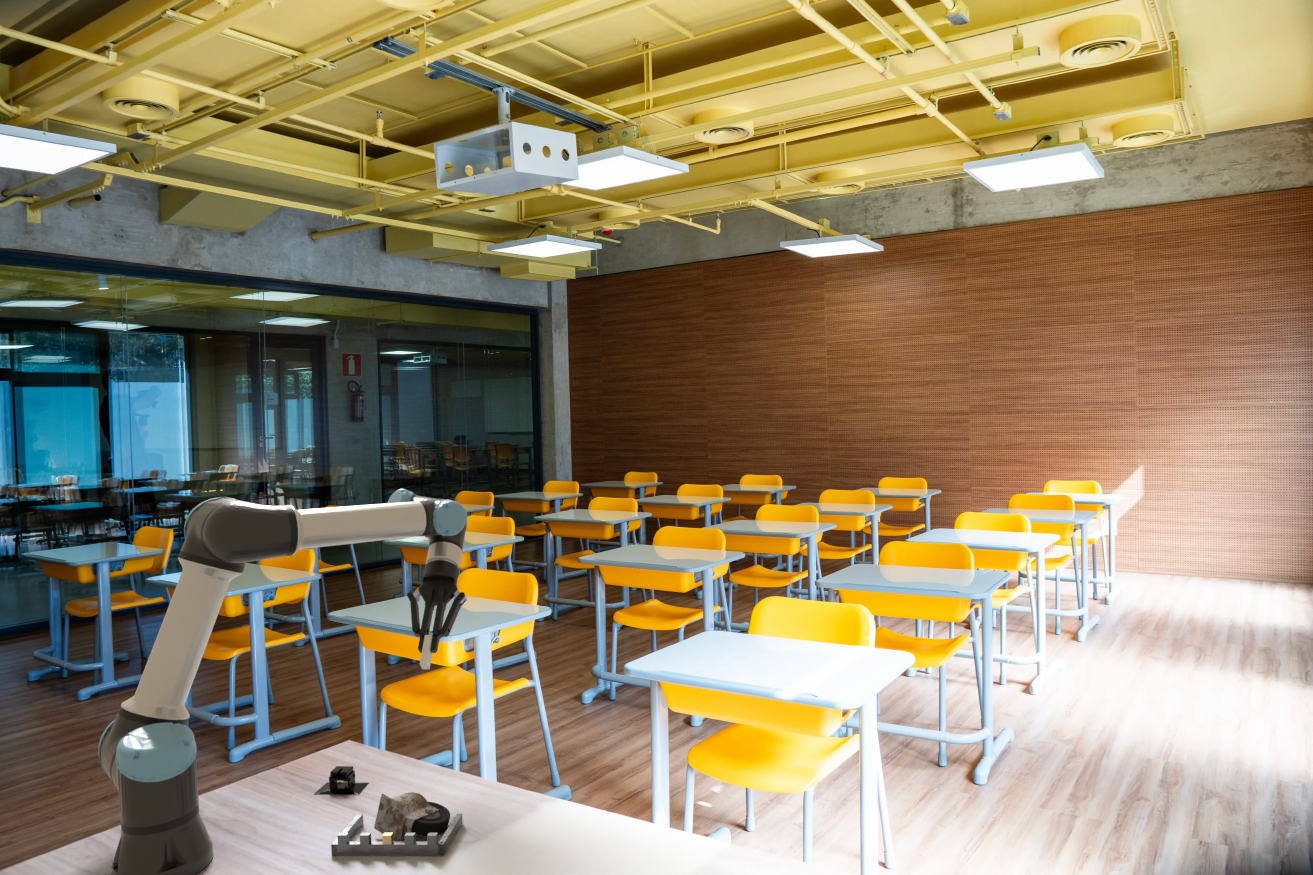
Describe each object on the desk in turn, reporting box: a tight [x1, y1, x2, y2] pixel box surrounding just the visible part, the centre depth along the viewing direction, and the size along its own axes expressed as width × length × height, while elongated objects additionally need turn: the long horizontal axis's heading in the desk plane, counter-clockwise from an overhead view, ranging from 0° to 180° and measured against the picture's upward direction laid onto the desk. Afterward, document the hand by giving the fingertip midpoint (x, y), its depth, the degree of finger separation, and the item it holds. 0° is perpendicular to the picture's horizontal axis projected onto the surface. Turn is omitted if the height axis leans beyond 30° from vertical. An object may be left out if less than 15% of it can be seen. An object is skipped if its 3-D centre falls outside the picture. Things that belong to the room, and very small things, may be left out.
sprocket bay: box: [330, 813, 464, 857], centre depth 153 cm, size 20×11×4 cm, turn 86°
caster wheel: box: [373, 791, 451, 842], centre depth 156 cm, size 7×11×10 cm
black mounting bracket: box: [313, 765, 370, 796], centre depth 175 cm, size 12×7×5 cm, turn 85°
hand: (424, 666), depth 176 cm, fingers closed
